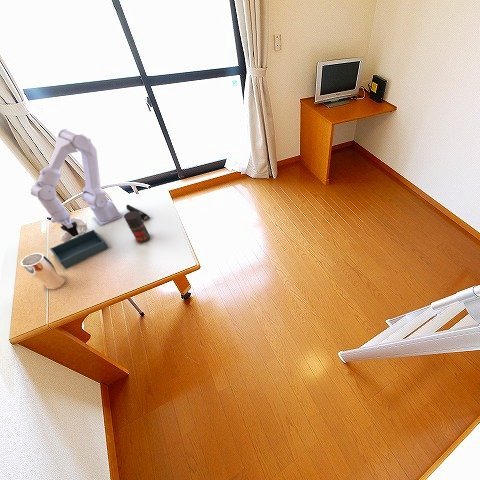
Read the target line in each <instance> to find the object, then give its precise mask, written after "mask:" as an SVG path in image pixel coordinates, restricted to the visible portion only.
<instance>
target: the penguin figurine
mask: <svg viewBox="0 0 480 480" xmlns="http://www.w3.org/2000/svg"><path fill="white" fill-rule="evenodd" d="M73 222H76V223H77V231H78V234H79V235H78V236H80V235H82V234H84V233H87V232H88V230H89V229H88V224H87V222H85V220H83V218H81V217H78V216H74V217H71V223H73ZM73 238H74V237H73V236H72V235H71V234H70V233H68V232H67V231H64V232H63V233H62V234H61V235H60V236H59V240H60V241H61V242H62V243H64V242H66V241H69V240H71V239H73Z"/></svg>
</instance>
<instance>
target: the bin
mask: <svg viewBox="0 0 480 480" xmlns="http://www.w3.org/2000/svg"><path fill="white" fill-rule="evenodd" d="M108 249H109V246H108V244H107V242H106V241H105V240H104V239H103V237H101V235H99V233H98V232H97V231H96V230H95V229H91V230H89V231H87V233H83V234H80V235H77V236H75V237H73V238H71V239H70V240H69V241H66V242H61V243H59V244H57V245H55V246H53V247H51V248H49V250H50V251H51V253H52V254H53V256H55V258H56V259H57V261H58V262H59V263H60V264H61V265H62V266H63V268H64V269H65V270H67V269H68V268H71V267H73V266H74V265H77V264H78V263H79V264H80V263H81V262H83V261H85V260H87V259H89V258H91V257H93V256H96V255H97V254H99V253H102V252H103V251H106V250H108Z"/></svg>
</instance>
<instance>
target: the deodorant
mask: <svg viewBox="0 0 480 480" xmlns="http://www.w3.org/2000/svg"><path fill="white" fill-rule="evenodd" d="M123 217H124V218H123V219H124V220H125V222H126V224H127V226H128V227H129V229H130V231H131V233H132V235H133V237H134V239H135V241H136V242H137V243H138V244H145V243H148V242H149V241H150V240H151V235H150V233H149V231H148V229H147V227H146V225H145V223H144V221H143V220H142V219H141V216H140V214H139V213H138V212H137V211H131V212H130V211H128V212H126V213H125V214H124V215H123Z"/></svg>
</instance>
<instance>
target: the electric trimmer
mask: <svg viewBox="0 0 480 480" xmlns="http://www.w3.org/2000/svg"><path fill="white" fill-rule="evenodd" d="M125 207H126V210H127V211H128V212H131V211H137V212H138V213H139V214H140V216H141V219H142V221H143V222H147V221H148V220H150V219H151V217H150V215H149V214H147V213H146V212H145V211H141V210H140V209H138V208H136V207H133V206H132V205H130V204H126V206H125Z"/></svg>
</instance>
